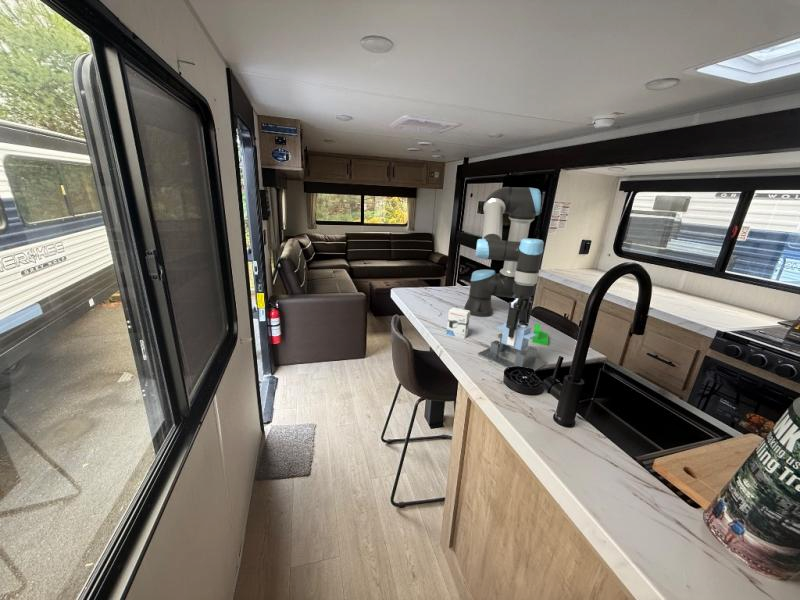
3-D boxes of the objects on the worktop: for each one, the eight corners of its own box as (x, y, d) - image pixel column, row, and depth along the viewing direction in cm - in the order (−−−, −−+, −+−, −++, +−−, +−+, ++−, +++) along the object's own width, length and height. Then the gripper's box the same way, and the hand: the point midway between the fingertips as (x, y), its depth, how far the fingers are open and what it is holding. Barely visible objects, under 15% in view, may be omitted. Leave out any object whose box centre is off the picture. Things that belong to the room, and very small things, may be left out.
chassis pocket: (500, 344, 130) (502, 332, 128) (547, 363, 115) (550, 349, 114) (477, 354, 120) (479, 341, 118) (526, 376, 105) (528, 361, 104)
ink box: (445, 334, 137) (448, 309, 133) (449, 331, 141) (452, 307, 137) (464, 339, 133) (467, 313, 130) (467, 335, 137) (470, 310, 134)
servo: (502, 337, 122) (505, 317, 120) (533, 349, 113) (538, 327, 110) (495, 340, 119) (498, 319, 116) (527, 353, 110) (531, 330, 107)
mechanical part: (546, 345, 131) (550, 328, 129) (531, 342, 134) (535, 325, 131) (547, 336, 142) (550, 320, 139) (533, 333, 144) (536, 317, 142)
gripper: (527, 278, 117) (517, 334, 124) (501, 283, 106) (492, 345, 113) (547, 282, 112) (535, 341, 119) (522, 288, 100) (510, 353, 107)
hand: (514, 343), depth 116 cm, fingers closed on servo, 5 cm apart
